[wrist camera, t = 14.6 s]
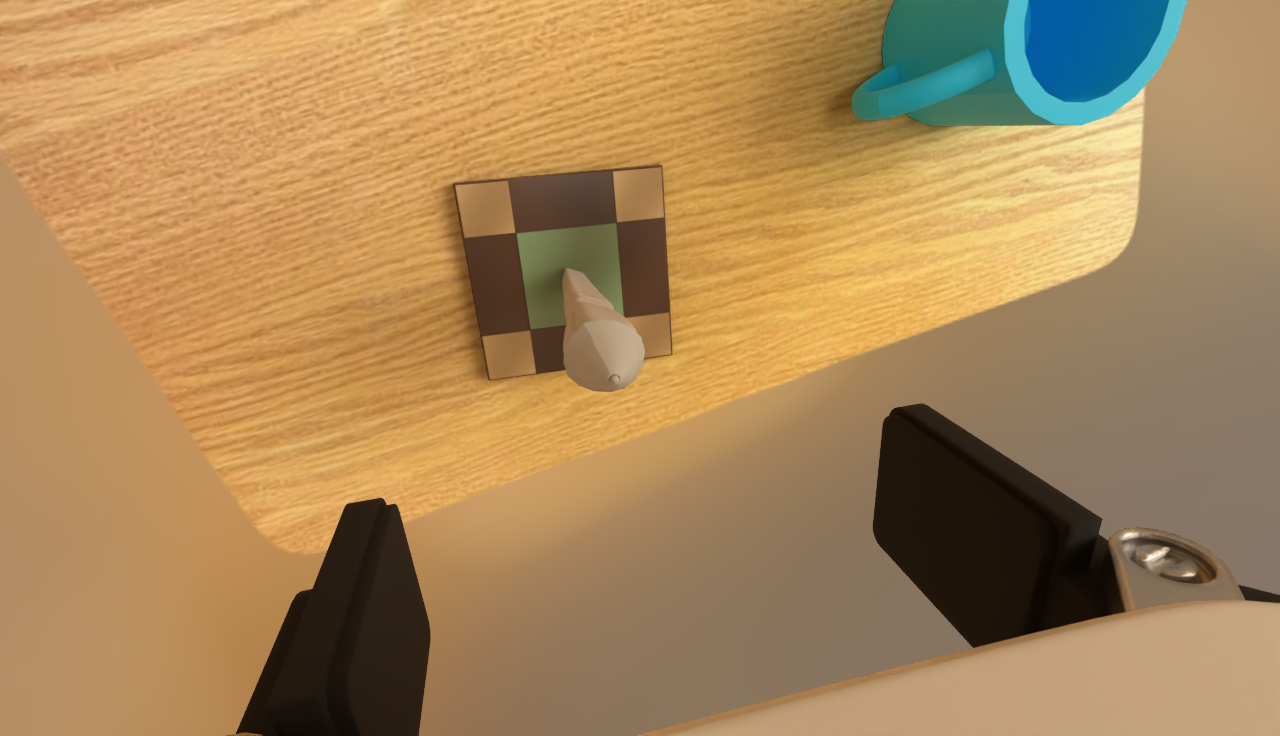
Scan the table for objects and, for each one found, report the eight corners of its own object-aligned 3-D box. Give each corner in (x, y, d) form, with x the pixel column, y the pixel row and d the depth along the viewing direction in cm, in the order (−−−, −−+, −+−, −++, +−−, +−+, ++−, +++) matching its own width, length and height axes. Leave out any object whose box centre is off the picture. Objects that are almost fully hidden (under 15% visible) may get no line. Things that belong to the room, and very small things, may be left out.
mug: (1011, -86, 29) (1184, -161, 22) (1037, 82, 32) (1195, 68, 25) (792, 31, 29) (890, -3, 22) (842, 188, 32) (942, 205, 25)
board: (488, 376, 32) (488, 381, 32) (453, 182, 28) (452, 183, 28) (669, 351, 34) (673, 355, 33) (659, 164, 30) (663, 165, 29)
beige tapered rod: (589, 305, 31) (645, 427, 18) (538, 293, 30) (559, 410, 18) (602, 259, 30) (670, 352, 18) (550, 244, 30) (583, 331, 17)
